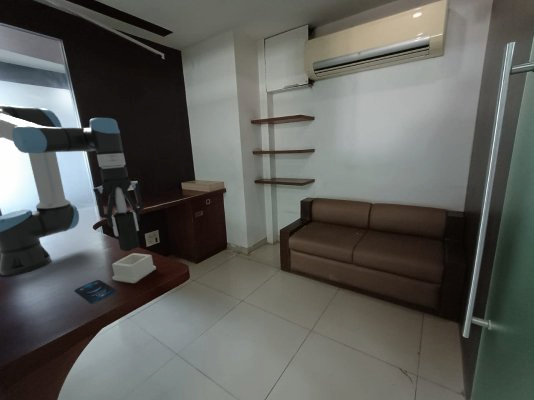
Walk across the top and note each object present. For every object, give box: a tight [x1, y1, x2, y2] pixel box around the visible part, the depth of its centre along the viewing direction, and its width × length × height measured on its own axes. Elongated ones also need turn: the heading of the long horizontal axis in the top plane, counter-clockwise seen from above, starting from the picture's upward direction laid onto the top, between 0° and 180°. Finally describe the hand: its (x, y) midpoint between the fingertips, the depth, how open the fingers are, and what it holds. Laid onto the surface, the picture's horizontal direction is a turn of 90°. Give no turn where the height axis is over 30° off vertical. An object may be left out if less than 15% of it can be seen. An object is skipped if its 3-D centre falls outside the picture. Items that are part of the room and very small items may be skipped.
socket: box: [111, 252, 157, 284], centre depth 86 cm, size 10×10×6 cm
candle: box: [112, 187, 140, 252], centre depth 82 cm, size 5×5×25 cm
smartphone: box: [74, 279, 118, 305], centre depth 78 cm, size 8×1×15 cm
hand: (126, 232), depth 83 cm, fingers closed on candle, 6 cm apart
